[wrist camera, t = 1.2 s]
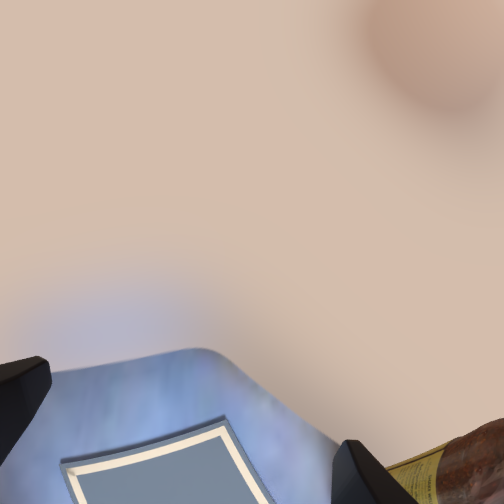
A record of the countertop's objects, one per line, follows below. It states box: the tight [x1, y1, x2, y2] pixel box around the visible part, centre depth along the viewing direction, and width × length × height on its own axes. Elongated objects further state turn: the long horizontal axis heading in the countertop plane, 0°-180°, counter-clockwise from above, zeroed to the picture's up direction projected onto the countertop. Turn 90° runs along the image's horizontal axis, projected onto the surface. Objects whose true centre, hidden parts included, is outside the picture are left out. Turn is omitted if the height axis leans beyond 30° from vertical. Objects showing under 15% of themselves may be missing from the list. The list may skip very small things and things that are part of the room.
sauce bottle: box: [385, 418, 504, 504], centre depth 11 cm, size 7×6×20 cm
